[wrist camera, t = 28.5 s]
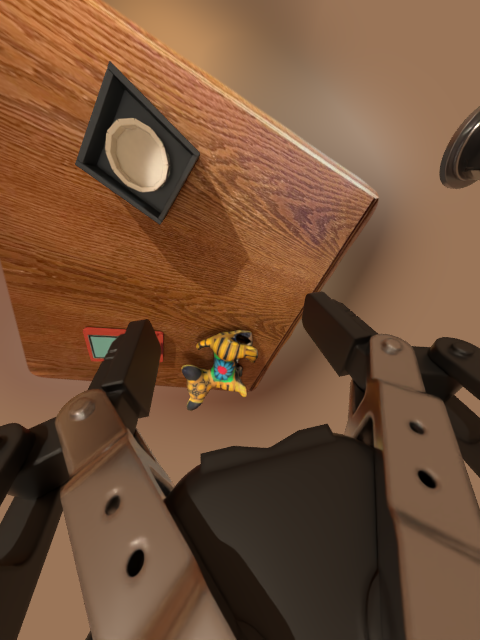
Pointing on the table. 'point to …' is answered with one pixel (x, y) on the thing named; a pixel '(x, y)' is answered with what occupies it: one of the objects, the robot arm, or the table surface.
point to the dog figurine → (220, 366)
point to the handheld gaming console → (107, 341)
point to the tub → (129, 102)
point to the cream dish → (137, 155)
